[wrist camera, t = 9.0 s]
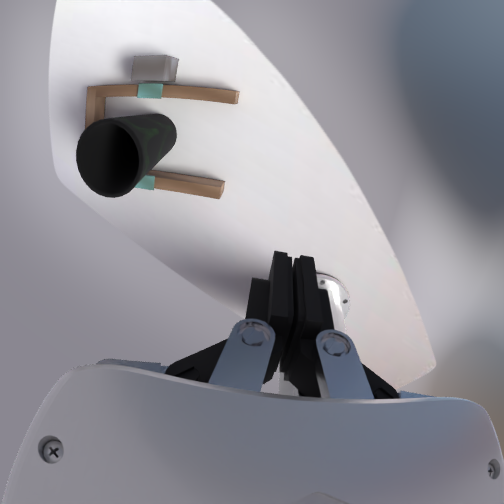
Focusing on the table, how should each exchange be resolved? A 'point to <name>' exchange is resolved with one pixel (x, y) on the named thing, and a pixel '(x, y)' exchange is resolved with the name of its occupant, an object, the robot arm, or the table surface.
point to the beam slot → (160, 71)
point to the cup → (122, 151)
